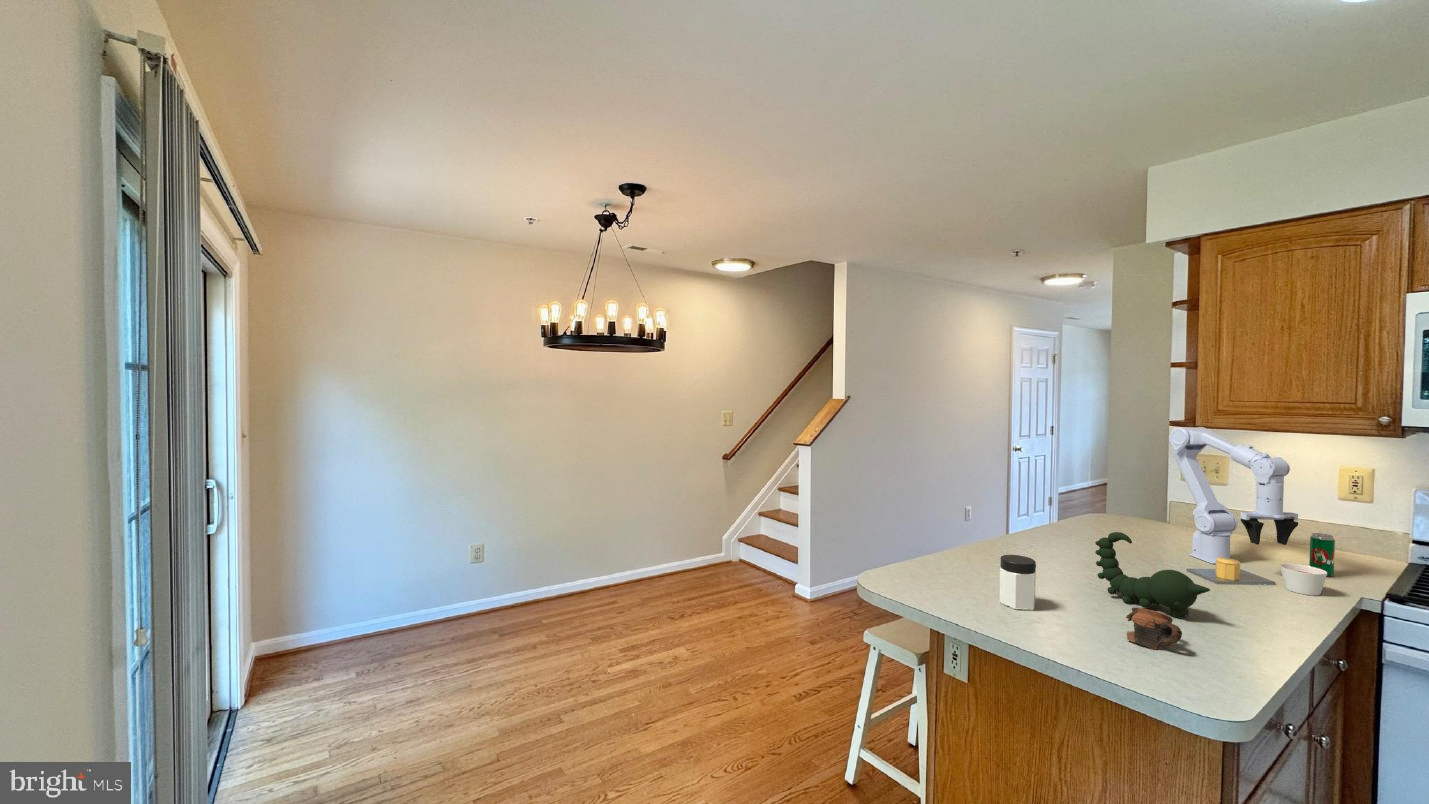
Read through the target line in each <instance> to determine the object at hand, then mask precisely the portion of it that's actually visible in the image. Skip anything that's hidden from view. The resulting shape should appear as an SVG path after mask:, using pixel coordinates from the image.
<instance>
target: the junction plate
mask: <svg viewBox="0 0 1429 804" xmlns="http://www.w3.org/2000/svg"><path fill="white" fill-rule="evenodd" d="M1185 571H1186V572H1187V573H1190V574H1192V575H1194V576H1197V577H1199V578H1202V579H1203V580H1207V581H1208V580H1209V582H1211V583H1213V582H1214V583H1213V584H1216V585H1255V586H1256V585H1257V586H1258V585H1259V584H1260V585H1261V586H1262V585H1263V586H1264V584H1266V586H1275V585H1276V581H1274V580H1271V579H1268V578H1265V577H1263V576H1260V575H1258V574H1255V573H1253V572H1249V571H1246V570H1244V569H1242V568H1240V580H1230V579H1224V578H1221V577H1217V576H1216V568H1186V570H1185ZM1260 585H1259V586H1260Z"/></svg>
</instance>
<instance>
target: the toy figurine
mask: <svg viewBox="0 0 1429 804" xmlns="http://www.w3.org/2000/svg"><path fill="white" fill-rule="evenodd" d="M1119 541H1125V542H1127V543H1128V544H1129V545H1131V544H1132V543H1133V541H1132V539H1131V537H1129V536H1128V535H1127V534H1125V533H1123V532H1119V531H1118V532H1117V531H1114V532H1110V533H1109V534H1108V535H1107V537H1101V538H1099V539H1098V540H1096V541H1095V545H1096V546H1098V547H1099V548H1098V549H1096V550H1095V552H1094V553H1095V555H1097V556H1099V557H1100V560H1097V561H1096V562H1095V565H1096V566H1097V567H1100V568H1102V572H1098V573H1097V574H1096V575H1097V578H1098V579H1100V580H1104V579H1105V580H1106V581H1107V582H1109V587H1107V593H1108V594H1110V595H1116V594H1117V593H1118V594H1120V595H1121V596H1122V602H1123V603H1125V604H1127V603H1130V604H1131V603H1133V602H1135V603H1136V602H1139V605H1140V606H1141V608H1144V609H1149V608H1152V607H1153V605H1156V606H1162V607H1165V608H1166V609H1169V612H1170V614H1171V615H1172V616H1173V617H1175V618H1185V617H1186V616H1188V614H1189V608H1190V607H1191V606H1192V605H1194V603H1196V601H1197V599H1198V596H1199V595H1202V594H1205V593H1208V592H1210V591H1211V589H1210V588H1209V587H1206V586H1203V585H1199V584H1197V583H1195V582H1194V581H1193V580H1192V579H1191V577H1189V576H1188V575H1186V574H1184V573H1183V572H1181V571H1178V570H1174V569H1163V570H1162V569H1161V570H1159V571H1156V572H1155V573H1153V574H1152V575H1151V576H1142V577H1139V578H1138V577H1134V576H1128V575H1126V574H1124V572H1123V570H1122V568H1121V567H1120V562H1119V561H1118V559H1117V558H1116V557H1117V551H1116V550H1115V548H1114V543H1117V542H1119Z"/></svg>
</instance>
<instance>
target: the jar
mask: <svg viewBox="0 0 1429 804" xmlns="http://www.w3.org/2000/svg"><path fill="white" fill-rule="evenodd" d="M999 561H1000V568H999V603H1000V602H1001V603H1004V604H1006V605H1009V606H1011V607H1013V608H1021V609H1023V608H1026V609H1034V610H1035V607H1034V606H1036V580H1037V579H1036V578H1037V577H1036V574H1037V573H1036V571H1037V570H1036V569H1037V564H1036V560H1035V559H1033V558H1031V557H1028V556H1024V555H1019V554H1004V555H1001V556H1000V559H999Z"/></svg>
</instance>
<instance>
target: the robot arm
mask: <svg viewBox="0 0 1429 804" xmlns="http://www.w3.org/2000/svg"><path fill="white" fill-rule="evenodd" d="M1168 440H1169V443H1170V445H1171V447H1172V451H1173V458H1174V460H1175V462H1176V464H1177V466H1178V468H1179V470H1180V473H1181V475H1182V477H1183V479H1184V481H1185V483H1186V486H1187V488H1188V490H1189V492H1190V493H1191V497H1192V498H1193V501H1194V502H1195V504H1196V507H1195V508H1194V509H1193V511H1192V515H1193V518H1194V522H1193V523H1194V525H1195V527H1196V529H1197V530H1196V531H1194V532H1193V534H1192V540H1191V542H1192V543H1191V553H1189V554H1188V555H1190V556H1191V557H1194V558H1197V559H1199V560H1202V561H1204V562H1207V563H1209V564H1212V565H1213V564H1214V565H1216V558H1218V557H1223V558H1230V559H1231V536H1232V535H1233V532H1235V530H1237V528H1238V520H1237V518H1236V516H1235V515H1234V514H1232V513H1231V512H1230V510H1229V508H1228V507H1227V506H1225V505H1223V504H1222V503H1221V502H1219V501H1218V499H1217V497H1216V495H1215V493H1214V491H1213V489H1212V487H1211V485H1210V482H1209V481H1208V479H1207V477H1206V475H1205V473H1204V471H1203V468H1202V467H1201V465H1200V463H1199V461H1198V458H1197V457H1198V454H1200V453H1201V452H1202V451H1203V450H1204V449H1205V448H1206V447H1207V446H1209V447H1211V448H1213V449H1216V450H1218V451H1220V452H1222V453H1225V454H1228V455H1229V456H1230V459H1231V460H1232V461H1233V462H1235V463H1236V464H1240V465H1241V466H1243V467H1245V468H1247V469H1250V470H1251V472H1252V473H1253V474H1254V478H1255V479H1254V480H1255V481H1256V486H1255V487H1256V488H1255V489H1256V491H1255V493H1256V494H1255V510H1252V511H1251V510H1250V511H1240V516H1239V518H1240V522H1241V523H1242V525H1243V526H1244V528H1245V530H1246V532H1247V535H1248V538H1249V541H1250V543H1251V544H1252V545H1253V544H1254V545H1258V546H1259V545H1260V543H1261V533H1262V530H1263V527H1264V525H1265V523H1264V522H1261V521H1263V520H1266V521H1267V520H1268V521H1269V520H1271V521H1273V522H1274V525H1275V530H1276V542H1277V544H1280V545H1284V546H1285V545H1288V541H1289V539H1290V536H1291V534H1292V533H1293V532H1294V531H1295V529H1296V528H1297V527H1298V526H1299V513H1296V512H1291V511H1289V512H1286V511H1284V490H1285V489H1284V488H1285V487H1284V486H1285V485H1284V483H1285V476H1287V475H1289V474H1290V471H1291V466H1290V464H1289V462H1287V460H1285V459H1284V458H1282V457H1280V456H1276V457H1275V456H1274V457H1271V456H1270V454H1269V453H1266V452H1262V451H1259V450H1257V449H1255V448H1254V446H1253V445H1252V444H1251V445H1250V444H1239V445H1237V444H1236V443H1233V442H1232V441H1230V440H1228V439H1226V438H1224V437H1222V436H1221V435H1219V434H1216V433H1214V431H1213V430H1212V429H1208V428H1206V427H1204V426H1199V427H1181V426H1179V427H1175V428H1173V430H1172V431H1171V433H1170V434H1169V436H1168ZM1260 520H1261V521H1260Z"/></svg>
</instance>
